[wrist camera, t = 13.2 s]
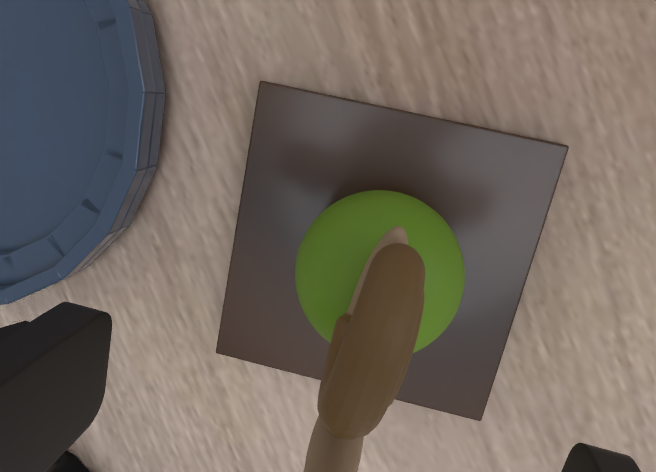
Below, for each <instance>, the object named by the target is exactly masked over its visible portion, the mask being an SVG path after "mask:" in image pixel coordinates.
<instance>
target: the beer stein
mask: <svg viewBox="0 0 656 472" xmlns="http://www.w3.org/2000/svg"><path fill="white" fill-rule="evenodd" d="M46 472H89V470H88V469H87V468H86V467H85V466H84V465H83V464H82V463H81V462H80V461H79V459H78V458H77V457H76V456H74V455H72V454H70V453H69V452H67V451H65V452H64V453H63V454H62V455H61V456H60V457H59V458H58V460H57V461H56V462H55V463H54V464H53V465H52V466H51V467H50V468H49V469H48V470H47V471H46Z"/></svg>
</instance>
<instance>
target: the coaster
mask: <svg viewBox="0 0 656 472" xmlns="http://www.w3.org/2000/svg"><path fill="white" fill-rule="evenodd" d="M567 151H568V146H567V145H563V144H558V143H553V142H549V141H544V140H539V139H535V138H530V137H525V136H520V135H516V134H511V133H506V132H501V131H497V130H492V129H487V128H483V127H478V126H473V125H468V124H464V123H459V122H454V121H450V120H445V119H440V118H435V117H431V116H426V115H421V114H416V113H412V112H407V111H402V110H398V109H393V108H388V107H383V106H379V105H374V104H369V103H365V102H360V101H355V100H350V99H346V98H341V97H336V96H332V95H327V94H322V93H317V92H313V91H308V90H303V89H298V88H294V87H289V86H284V85H280V84H275V83H270V82H265V81H260V83H259V89H258V95H257V101H256V108H255V114H254V120H253V126H252V132H251V139H250V145H249V151H248V157H247V163H246V169H245V176H244V182H243V188H242V194H241V200H240V206H239V213H238V219H237V225H236V231H235V237H234V243H233V250H232V256H231V262H230V268H229V274H228V280H227V287H226V293H225V299H224V305H223V311H222V317H221V324H220V330H219V336H218V342H217V348H216V353H218V354H222V355H226V356H230V357H234V358H237V359H241V360H245V361H249V362H253V363H257V364H261V365H265V366H269V367H272V368H276V369H280V370H284V371H288V372H292V373H296V374H300V375H303V376H307V377H311V378H315V379H319V380H322V375H323V371H324V366H325V362H326V358H327V354H328V350H329V346H330V343H329V342H328V341H327V340H325V339H324V338H323V337H322V336H321V335H320V334H319V333H318V332H317V331H316V330H315V329H314V327H313V326H312V325H311V323H310V322H309V320H308V319H307V317H306V315H305V313H304V311H303V309H302V307H301V304H300V302H299V299H298V295H297V291H296V284H295V265H296V258H297V254H298V250H299V247H300V244H301V242H302V239H303V237H304V235H305V233H306V232H307V230H308V229H309V227H310V226H311V224H312V223H313V222H314V220H315V219H316V218H317V217H318V216H319V215H320V214H321V213H322V212H323V211H324V210H325V209H327V208H328V207H329V206H331V205H332V204H334V203H335V202H337V201H339V200H341V199H343V198H345V197H347V196H350V195H353V194H356V193H359V192H364V191H372V190H387V191H394V192H399V193H403V194H406V195H409V196H412V197H414V198H416V199H418V200H420V201H422V202H424V203H425V204H427V205H428V206H430V207H431V208H432V209H433V210H435V211H436V212H437V213H438V214H439V215H440V216H441V217H442V218H443V219H444V220H445V222H446V223H447V224H448V225H449V227H450V228H451V230H452V231H453V233H454V235H455V237H456V239H457V241H458V243H459V246H460V249H461V252H462V256H463V260H464V268H465V283H464V291H463V295H462V299H461V302H460V305H459V308H458V310H457V312H456V314H455V316H454V318H453V319H452V321H451V323H450V324H449V325H448V327H447V328H446V329H445V330H444V332H443V333H442V334H441V335H440V336H439V337H438V338H437V339H435V340H434V341H433V342H432V343H430V344H429V345H427V346H426V347H424V348H423V349H421V350H419V351H417V352H415V353H413V355H412V358H411V361H410V364H409V366H408V369H407V372H406V375H405V377H404V380H403V382H402V385H401V387H400V389H399V391H398V394H397V395H396V397H395V399H396V400H400V401H404V402H408V403H412V404H416V405H420V406H424V407H427V408H431V409H435V410H439V411H443V412H447V413H451V414H455V415H458V416H462V417H466V418H470V419H474V420H478V421H481V419H482V416H483V413H484V410H485V407H486V404H487V401H488V398H489V394H490V391H491V388H492V385H493V382H494V379H495V376H496V373H497V370H498V366H499V363H500V360H501V357H502V354H503V351H504V348H505V345H506V341H507V338H508V335H509V332H510V329H511V326H512V323H513V320H514V316H515V313H516V310H517V307H518V304H519V301H520V298H521V295H522V291H523V288H524V285H525V282H526V279H527V276H528V273H529V270H530V267H531V263H532V260H533V257H534V254H535V251H536V248H537V245H538V242H539V238H540V235H541V232H542V229H543V226H544V223H545V220H546V217H547V213H548V210H549V207H550V204H551V201H552V198H553V195H554V192H555V188H556V185H557V182H558V179H559V176H560V173H561V170H562V167H563V164H564V160H565V157H566V154H567Z"/></svg>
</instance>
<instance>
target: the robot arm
mask: <svg viewBox="0 0 656 472" xmlns="http://www.w3.org/2000/svg"><path fill="white" fill-rule="evenodd" d="M111 332H112V320H111V316H110V315H109V314H108V313H106V312H103V311H99V310H96V309H92V308H88V307H85V306H81V305H77V304H73V303H70V302H63V303H61V304H59V305H57V306H55V307H54V308H52V309H51V310H49V311H47V312H46V313H44V314H42V315H41V316H39V317H37V318H36V319H34V320H32V321H31V322H28V321H23V322H19V323H16V324H13V325H9V326H6V327H2V328H0V472H46V471H47V470H48V469H49V468H50V467H51V466H52V465H53V464H54V463H55V462H56V461H57V460H58V458H59V457H60V456H61V455H62V454H63V453H64V452H65V451H66V450H67V449H68V448H69V447H70V446H71V445H72V444H73V443H74V442H75V441H76V440H77V439H78V438H79V436H80V435H81V434H82V433H83V432H84V431H85V430H86V429H87V428H88V427H89V426H90V424H91V423H92V422H93V420H94V418H95V417H96V415H97V413H98V411H99V409H100V406H101V404H102V401H103V397H104V393H105V386H106V377H107V368H108V359H109V350H110V341H111ZM562 472H641V471H640V469H639V468H638V466H637V464H636V463H635V461H634V460H633V459H632V458H631V457H630V456H628V455H624V454H620V453H617V452H613V451H609V450H606V449H602V448H598V447H595V446H591V445H587V444H584V443H578V444H576V445H575V446H574V447H573V448H572V449H571V451H570V453H569V455H568V457H567V460H566V462H565V465H564V467H563V469H562Z"/></svg>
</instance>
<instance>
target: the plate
mask: <svg viewBox="0 0 656 472" xmlns="http://www.w3.org/2000/svg"><path fill="white" fill-rule="evenodd" d="M164 104H165V86H164V80H163V74H162V69H161V63H160V57H159V51H158V46H157V40H156V34H155V28H154V22H153V17H152V16H151V12H150V10H149V7H148V5H147V3H146V1H145V0H0V305H1V304H9V303H12V302H15V301H17V300H19V299H21V298H24V297H26V296H28V295H30V294H33V293H35V292H37V291H39V290H42V289H44V288H46V287H48V286H50V285H53V284H55V283H57V282H59V281H62V280H64V279H66V278H68V277H70V276H72V275H73V274H75V273H77V272H79V271H81V270H83V269H85V268H86V267H88V266H89V265H90V264H91V263H92V262H93V261H94V260H95V259H96V258H97V257H98V256H99V255H100V254H101V253H102V252H103V251H104V250H105V249H106V248H107V247H108V246H109V245H110V244H111V243H112V242H113V241H114V240H115V239H116V238H117V237H118V236H119V235H120V234H121V233H122V232H123V231H124V230H125V229H126V228H127V227H128V226H129V224H131V222H132V219H133V217H134V215H135V213H136V211H137V209H138V207H139V204H140V202H141V200H142V198H143V196H144V194H145V191H146V189H147V187H148V185H149V183H150V181H151V179H152V176H153V174H154V172H155V170H156V168H157V163H158V155H159V146H160V138H161V129H162V121H163V112H164Z"/></svg>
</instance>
